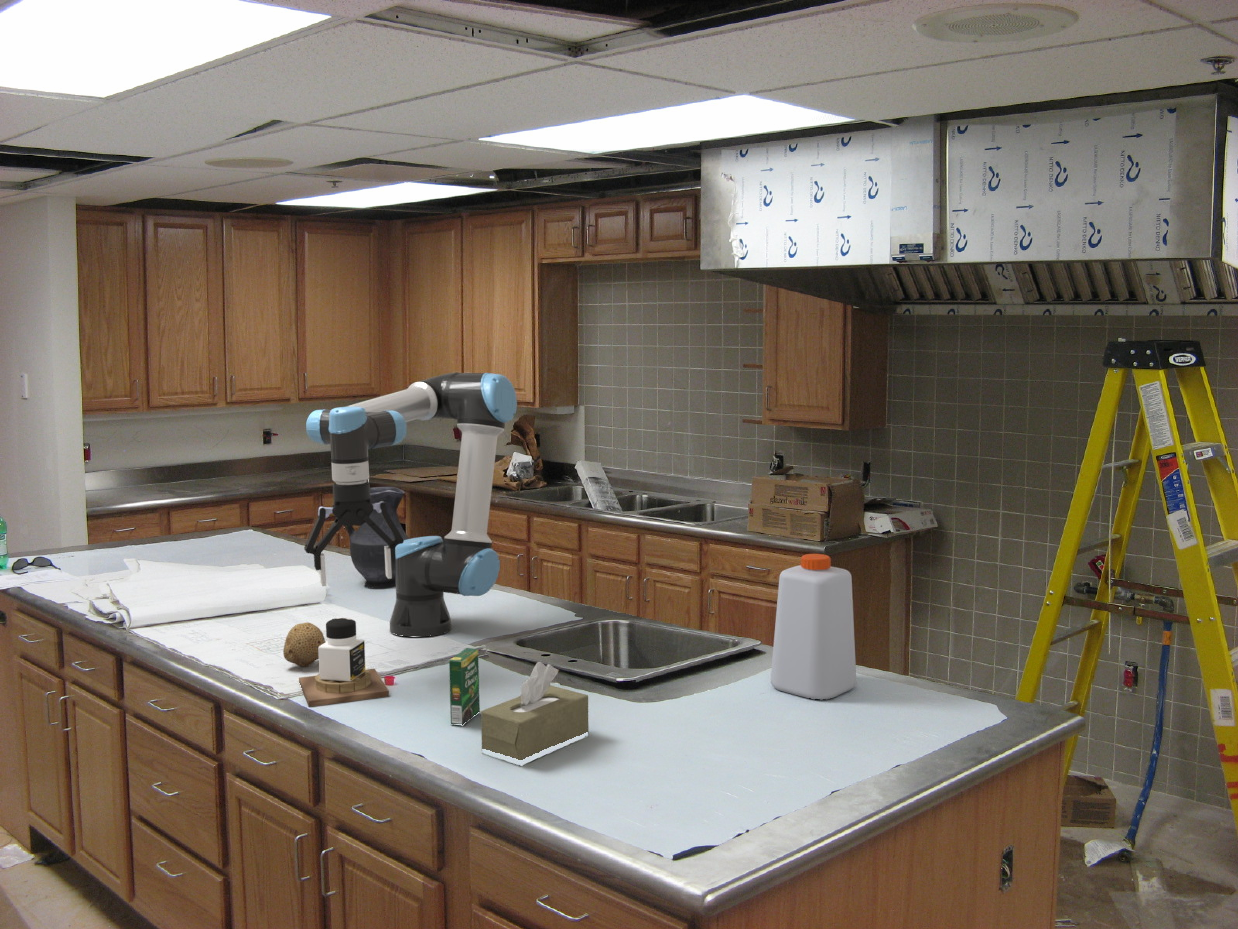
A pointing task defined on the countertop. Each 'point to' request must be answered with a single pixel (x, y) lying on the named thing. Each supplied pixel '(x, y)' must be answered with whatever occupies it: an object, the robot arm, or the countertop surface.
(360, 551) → the pitcher
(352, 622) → the medicine bottle
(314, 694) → the collar board
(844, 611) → the plastic bottle
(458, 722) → the coffee box
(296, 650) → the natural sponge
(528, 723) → the tissue box
